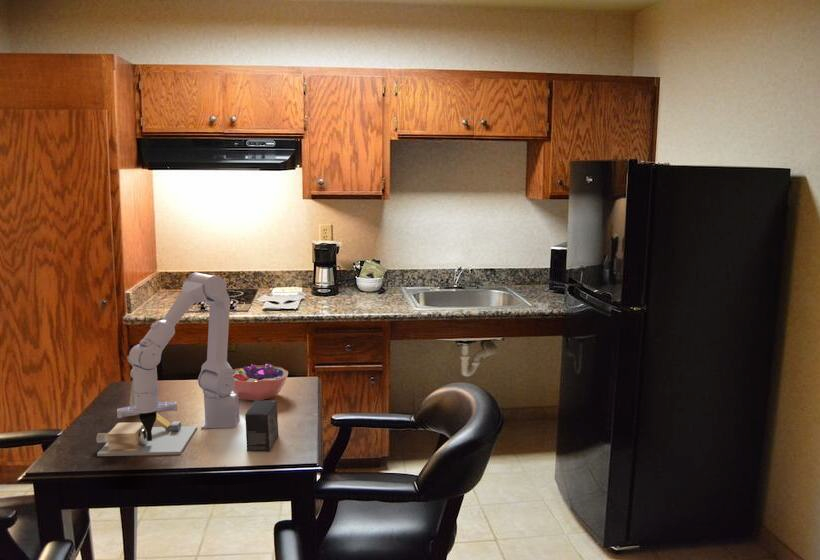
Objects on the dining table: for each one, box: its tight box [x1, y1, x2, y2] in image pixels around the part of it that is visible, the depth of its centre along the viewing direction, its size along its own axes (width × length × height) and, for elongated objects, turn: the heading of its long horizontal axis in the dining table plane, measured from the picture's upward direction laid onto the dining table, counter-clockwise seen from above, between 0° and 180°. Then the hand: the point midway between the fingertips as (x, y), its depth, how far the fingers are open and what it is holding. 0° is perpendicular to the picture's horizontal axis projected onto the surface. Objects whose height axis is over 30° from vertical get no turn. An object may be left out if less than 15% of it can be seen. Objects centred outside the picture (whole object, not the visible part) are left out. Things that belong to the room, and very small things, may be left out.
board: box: [96, 425, 198, 457], centre depth 180 cm, size 21×17×1 cm
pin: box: [95, 429, 147, 445], centre depth 176 cm, size 12×4×4 cm, turn 94°
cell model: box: [232, 363, 289, 402], centre depth 214 cm, size 17×20×11 cm
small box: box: [244, 399, 280, 453], centre depth 179 cm, size 11×6×10 cm, turn 178°
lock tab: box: [154, 412, 172, 431], centre depth 186 cm, size 8×3×1 cm
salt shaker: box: [129, 368, 135, 406], centre depth 203 cm, size 6×6×13 cm
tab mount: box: [170, 420, 182, 432], centre depth 186 cm, size 2×3×2 cm, turn 4°
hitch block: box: [107, 421, 145, 451], centre depth 176 cm, size 7×8×5 cm
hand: (149, 439), depth 177 cm, fingers closed
